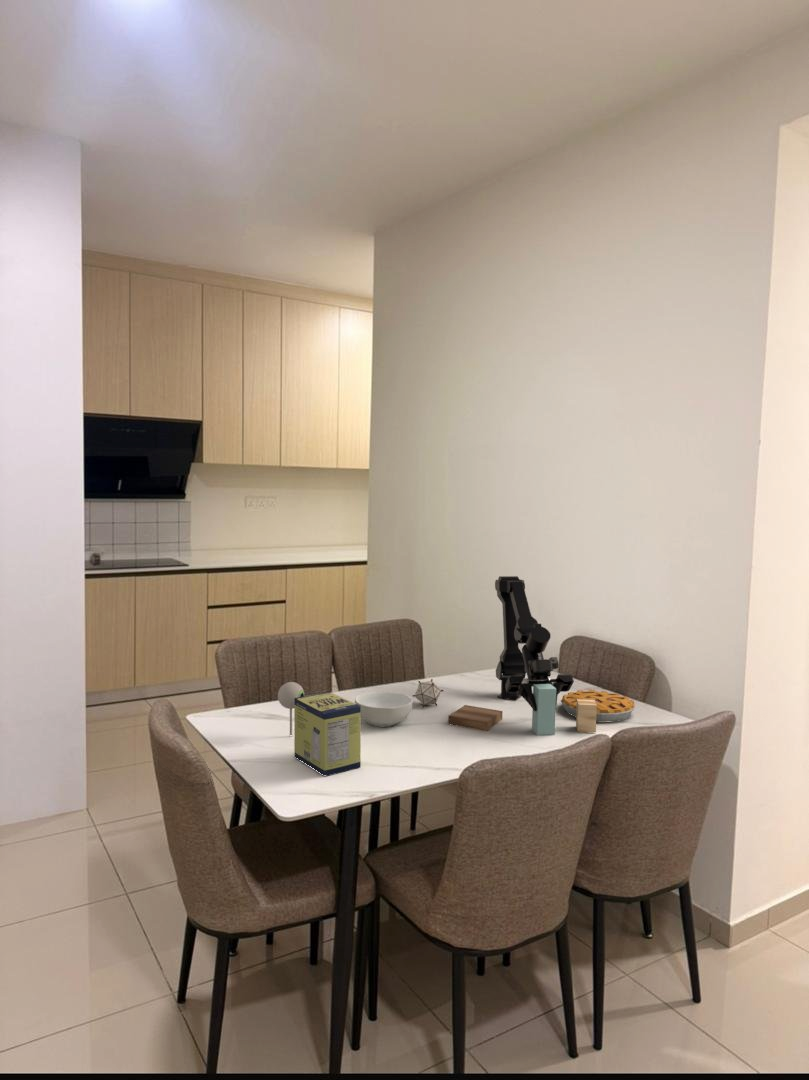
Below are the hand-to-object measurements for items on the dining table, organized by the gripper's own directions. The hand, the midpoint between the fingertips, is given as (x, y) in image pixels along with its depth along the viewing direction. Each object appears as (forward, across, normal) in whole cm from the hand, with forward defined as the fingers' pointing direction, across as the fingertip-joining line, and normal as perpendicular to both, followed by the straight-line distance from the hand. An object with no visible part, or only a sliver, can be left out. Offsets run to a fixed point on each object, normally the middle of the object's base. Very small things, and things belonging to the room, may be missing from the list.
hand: (545, 710), depth 210 cm
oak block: (+3, +13, +6) cm, 15 cm away
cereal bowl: (-5, -44, +15) cm, 46 cm away
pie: (-7, +22, +17) cm, 29 cm away
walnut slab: (-4, -17, +14) cm, 22 cm away
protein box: (+16, -61, -6) cm, 63 cm away
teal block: (+4, 0, +6) cm, 7 cm away
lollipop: (+2, -70, +8) cm, 71 cm away
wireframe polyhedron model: (-16, -28, +25) cm, 41 cm away
